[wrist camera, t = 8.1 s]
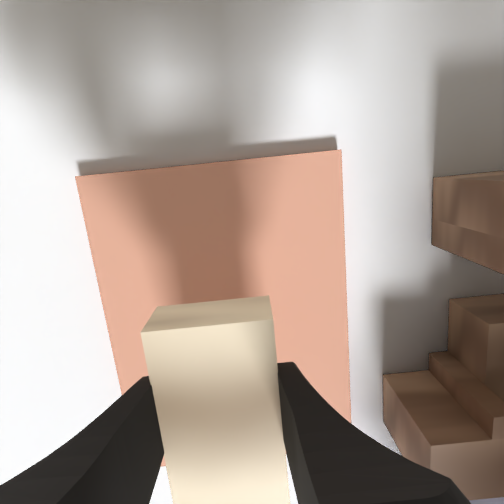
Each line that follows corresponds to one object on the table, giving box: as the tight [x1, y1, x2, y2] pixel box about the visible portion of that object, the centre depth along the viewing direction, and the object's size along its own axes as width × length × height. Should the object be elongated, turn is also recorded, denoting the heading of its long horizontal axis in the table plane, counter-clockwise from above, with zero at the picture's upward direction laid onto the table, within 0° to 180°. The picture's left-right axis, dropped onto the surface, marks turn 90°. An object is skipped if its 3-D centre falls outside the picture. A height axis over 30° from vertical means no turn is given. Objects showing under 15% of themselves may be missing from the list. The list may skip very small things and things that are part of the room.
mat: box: [75, 150, 351, 466], centre depth 18 cm, size 16×12×1 cm
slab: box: [140, 295, 290, 504], centre depth 12 cm, size 7×4×2 cm, turn 6°
